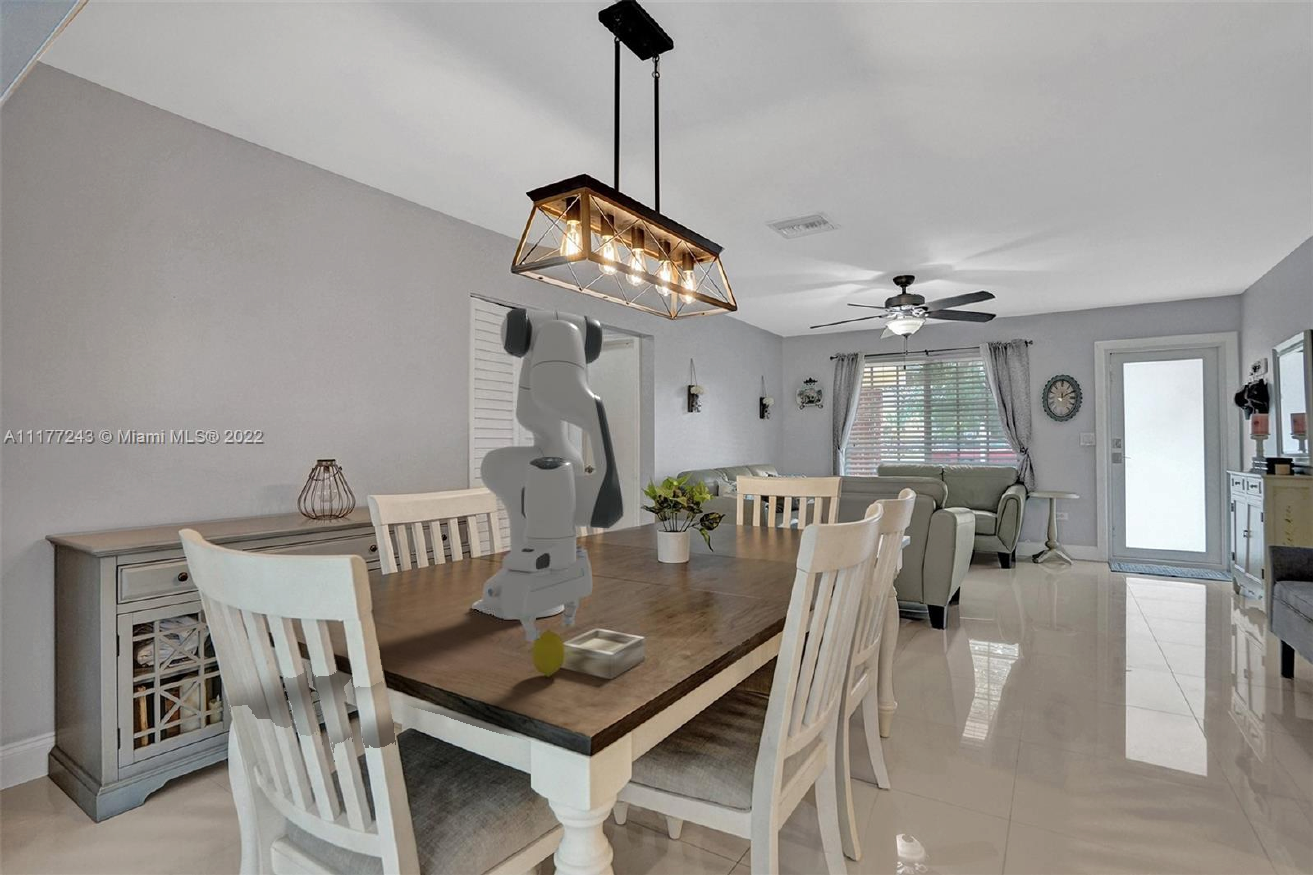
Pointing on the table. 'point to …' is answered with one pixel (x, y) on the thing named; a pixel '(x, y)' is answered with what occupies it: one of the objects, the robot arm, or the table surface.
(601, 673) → the base
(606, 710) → the table surface
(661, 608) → the table surface
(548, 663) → the lemon
